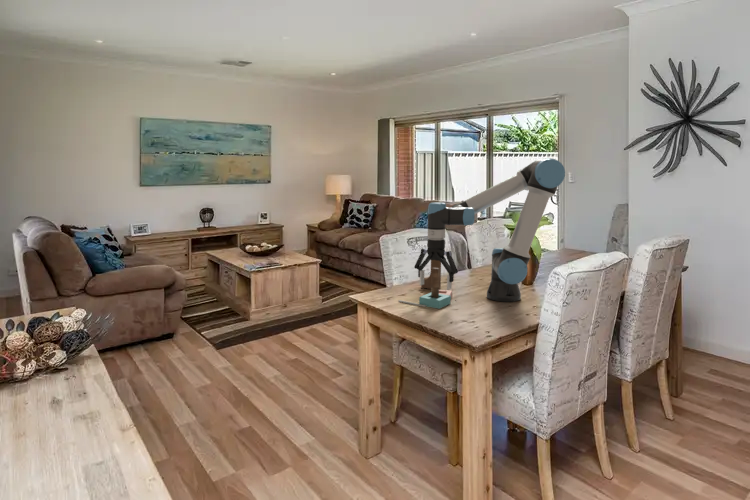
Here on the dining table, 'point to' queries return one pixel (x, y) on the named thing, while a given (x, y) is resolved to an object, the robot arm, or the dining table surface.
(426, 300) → the teal bead
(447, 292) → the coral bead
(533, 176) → the robot arm
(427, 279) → the wooden block
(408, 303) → the grey cord
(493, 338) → the dining table surface
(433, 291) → the brown square post
